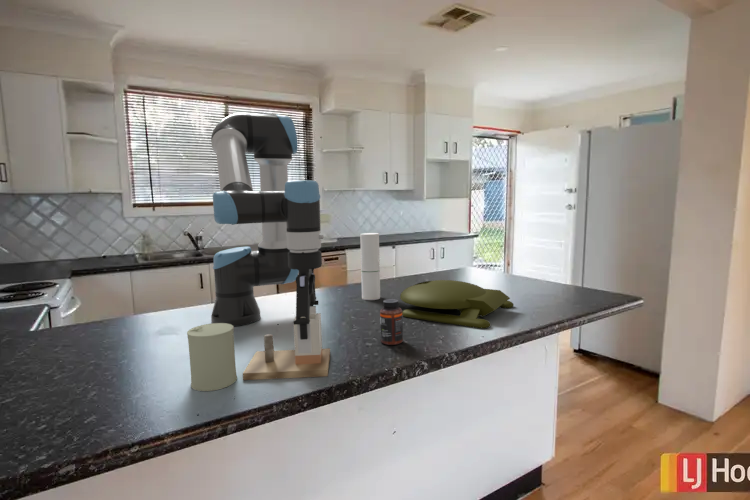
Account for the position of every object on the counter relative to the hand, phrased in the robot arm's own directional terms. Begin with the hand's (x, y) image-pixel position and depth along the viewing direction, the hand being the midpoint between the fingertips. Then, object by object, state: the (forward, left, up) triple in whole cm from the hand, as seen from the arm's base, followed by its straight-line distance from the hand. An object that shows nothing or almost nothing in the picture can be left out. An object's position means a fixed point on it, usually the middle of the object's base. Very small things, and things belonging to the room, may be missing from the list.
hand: (308, 341), depth 95 cm
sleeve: (0, 0, -4) cm, 4 cm away
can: (-19, -7, -6) cm, 21 cm away
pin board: (-4, 0, -6) cm, 7 cm away
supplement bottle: (+21, +13, -6) cm, 25 cm away
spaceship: (+44, +43, -6) cm, 61 cm away
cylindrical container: (+18, +64, -6) cm, 67 cm away
